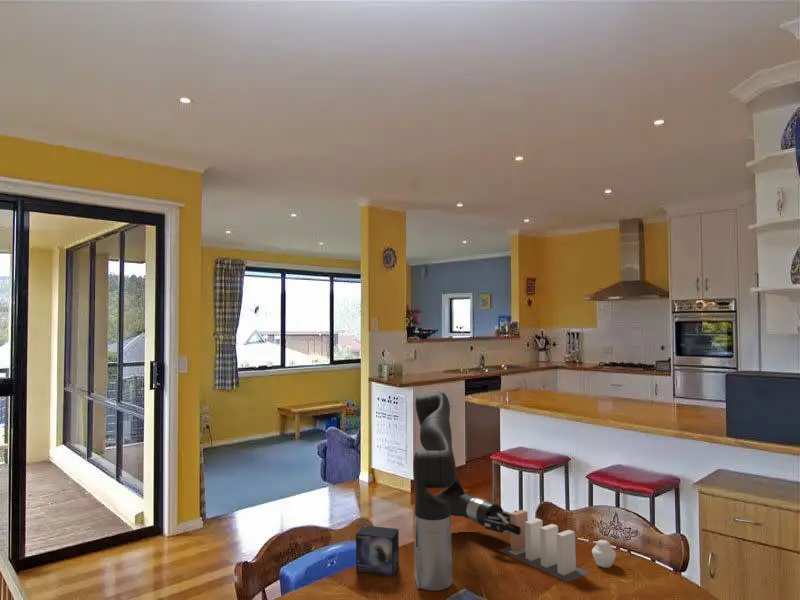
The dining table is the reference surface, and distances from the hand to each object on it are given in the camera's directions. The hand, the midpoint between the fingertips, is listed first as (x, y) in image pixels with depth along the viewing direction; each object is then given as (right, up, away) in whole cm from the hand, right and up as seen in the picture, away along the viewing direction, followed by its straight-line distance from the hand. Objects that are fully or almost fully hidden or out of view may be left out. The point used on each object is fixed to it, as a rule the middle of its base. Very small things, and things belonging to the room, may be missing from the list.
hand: (526, 529), depth 157 cm
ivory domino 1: (+2, -7, -3) cm, 7 cm away
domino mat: (+3, -7, -5) cm, 9 cm away
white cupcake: (+19, -7, -8) cm, 22 cm away
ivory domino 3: (+8, -6, -12) cm, 16 cm away
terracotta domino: (-1, -6, +2) cm, 7 cm away
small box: (-42, -8, -8) cm, 43 cm away
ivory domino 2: (+5, -7, -7) cm, 11 cm away
